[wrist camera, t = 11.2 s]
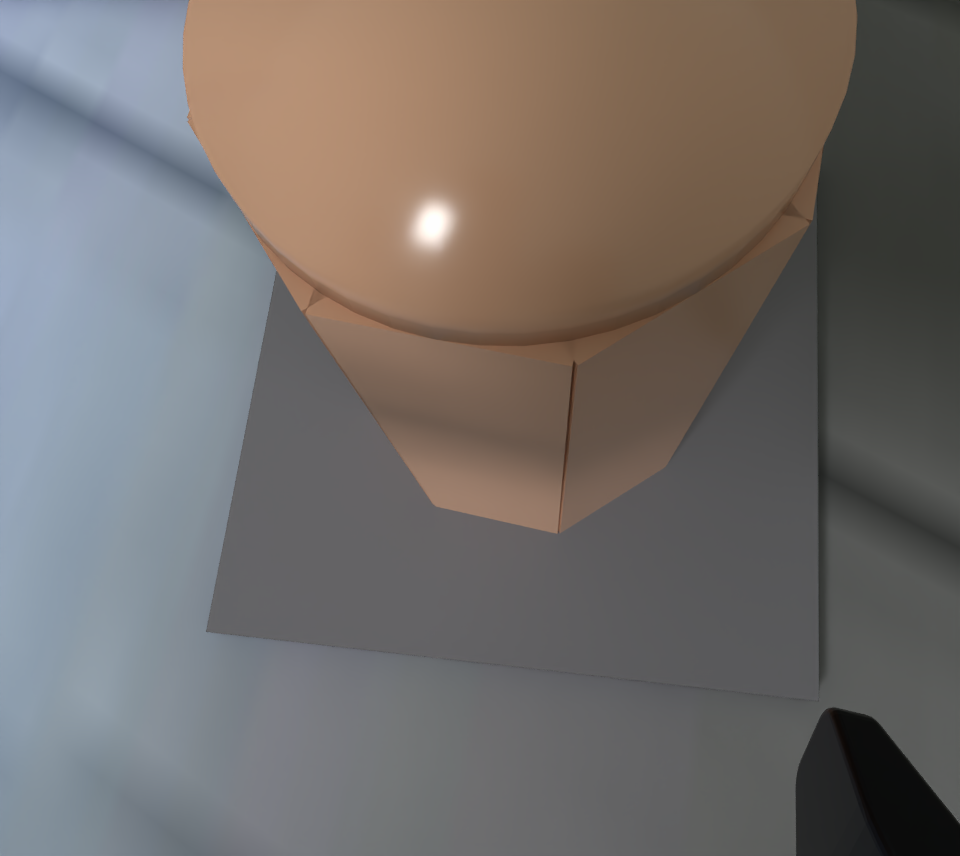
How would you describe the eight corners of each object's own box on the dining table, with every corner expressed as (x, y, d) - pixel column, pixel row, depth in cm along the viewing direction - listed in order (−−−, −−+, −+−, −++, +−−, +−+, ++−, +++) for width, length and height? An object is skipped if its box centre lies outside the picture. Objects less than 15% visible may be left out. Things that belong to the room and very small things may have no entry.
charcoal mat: (810, 700, 18) (818, 701, 18) (216, 632, 20) (206, 631, 19) (809, 162, 22) (816, 148, 22) (310, 138, 24) (304, 124, 23)
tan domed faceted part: (650, 554, 19) (809, 381, 8) (349, 486, 20) (87, 243, 9) (702, 272, 21) (891, -208, 9) (424, 223, 22) (292, -264, 11)
